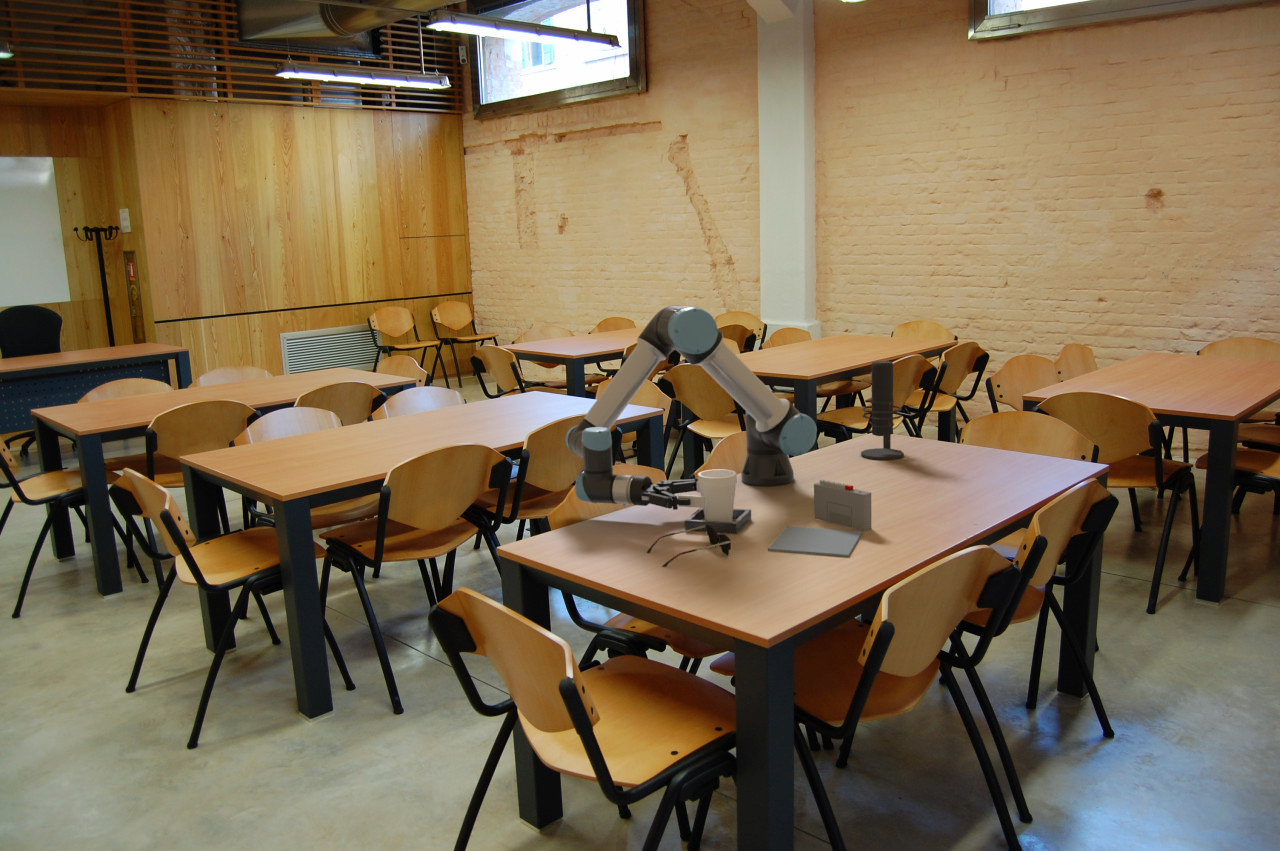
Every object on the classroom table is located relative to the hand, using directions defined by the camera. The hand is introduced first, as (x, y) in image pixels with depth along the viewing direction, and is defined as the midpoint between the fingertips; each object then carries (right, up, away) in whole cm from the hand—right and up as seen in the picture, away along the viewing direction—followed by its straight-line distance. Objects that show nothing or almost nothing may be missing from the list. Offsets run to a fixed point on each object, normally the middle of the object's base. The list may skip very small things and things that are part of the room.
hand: (713, 494), depth 237 cm
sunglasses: (-7, -13, -20) cm, 25 cm away
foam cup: (+1, -8, +1) cm, 8 cm away
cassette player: (+31, -7, -2) cm, 32 cm away
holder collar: (+1, -8, +1) cm, 8 cm away
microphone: (+59, +7, +69) cm, 91 cm away
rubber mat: (+22, -10, -16) cm, 29 cm away
